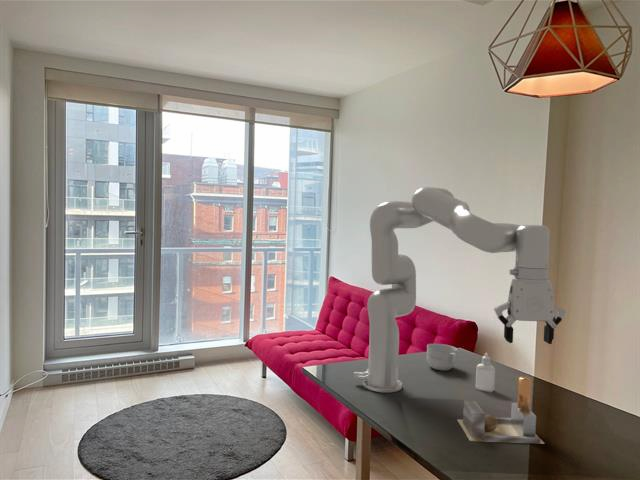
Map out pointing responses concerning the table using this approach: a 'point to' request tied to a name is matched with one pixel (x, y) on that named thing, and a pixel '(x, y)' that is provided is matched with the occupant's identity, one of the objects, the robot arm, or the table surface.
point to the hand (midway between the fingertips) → (528, 342)
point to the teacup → (441, 356)
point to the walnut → (490, 423)
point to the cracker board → (503, 432)
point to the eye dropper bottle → (485, 375)
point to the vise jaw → (523, 409)
